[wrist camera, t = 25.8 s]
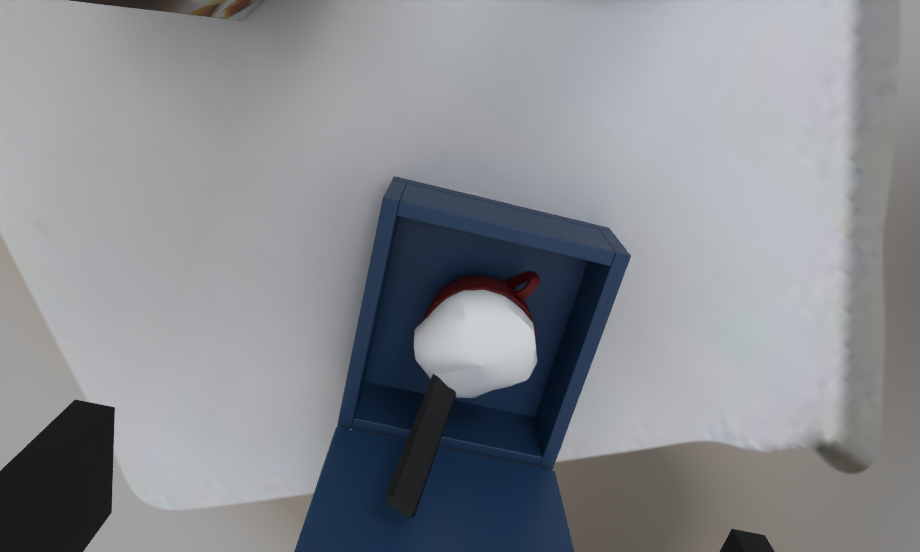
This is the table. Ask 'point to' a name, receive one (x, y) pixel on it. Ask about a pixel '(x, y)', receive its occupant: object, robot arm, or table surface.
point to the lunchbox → (498, 255)
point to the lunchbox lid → (431, 503)
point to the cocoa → (463, 364)
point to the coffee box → (190, 6)
